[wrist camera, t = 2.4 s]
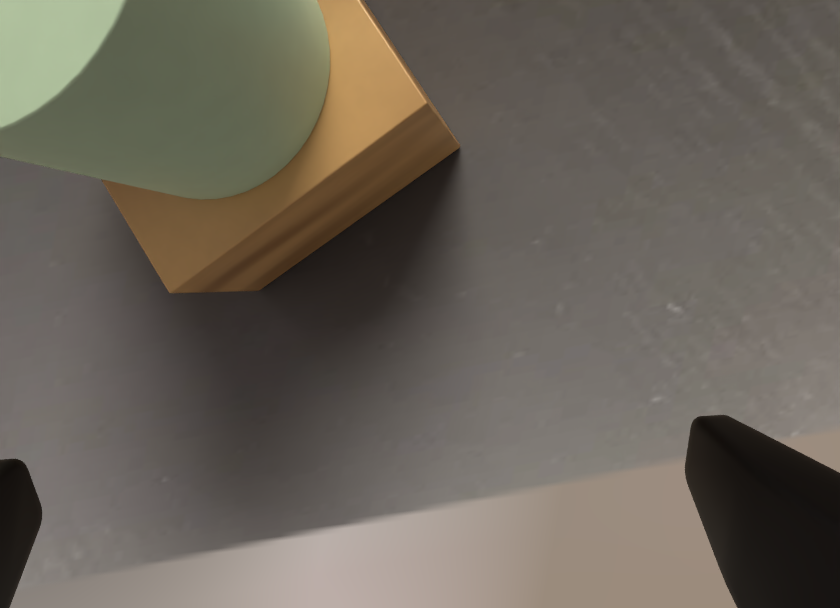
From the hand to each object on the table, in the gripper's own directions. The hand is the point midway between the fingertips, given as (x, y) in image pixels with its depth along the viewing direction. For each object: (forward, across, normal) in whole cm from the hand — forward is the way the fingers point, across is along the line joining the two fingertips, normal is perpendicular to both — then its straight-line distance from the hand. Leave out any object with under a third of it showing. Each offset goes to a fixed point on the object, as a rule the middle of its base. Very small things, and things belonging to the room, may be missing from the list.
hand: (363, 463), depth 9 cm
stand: (+15, +3, -2) cm, 15 cm away
